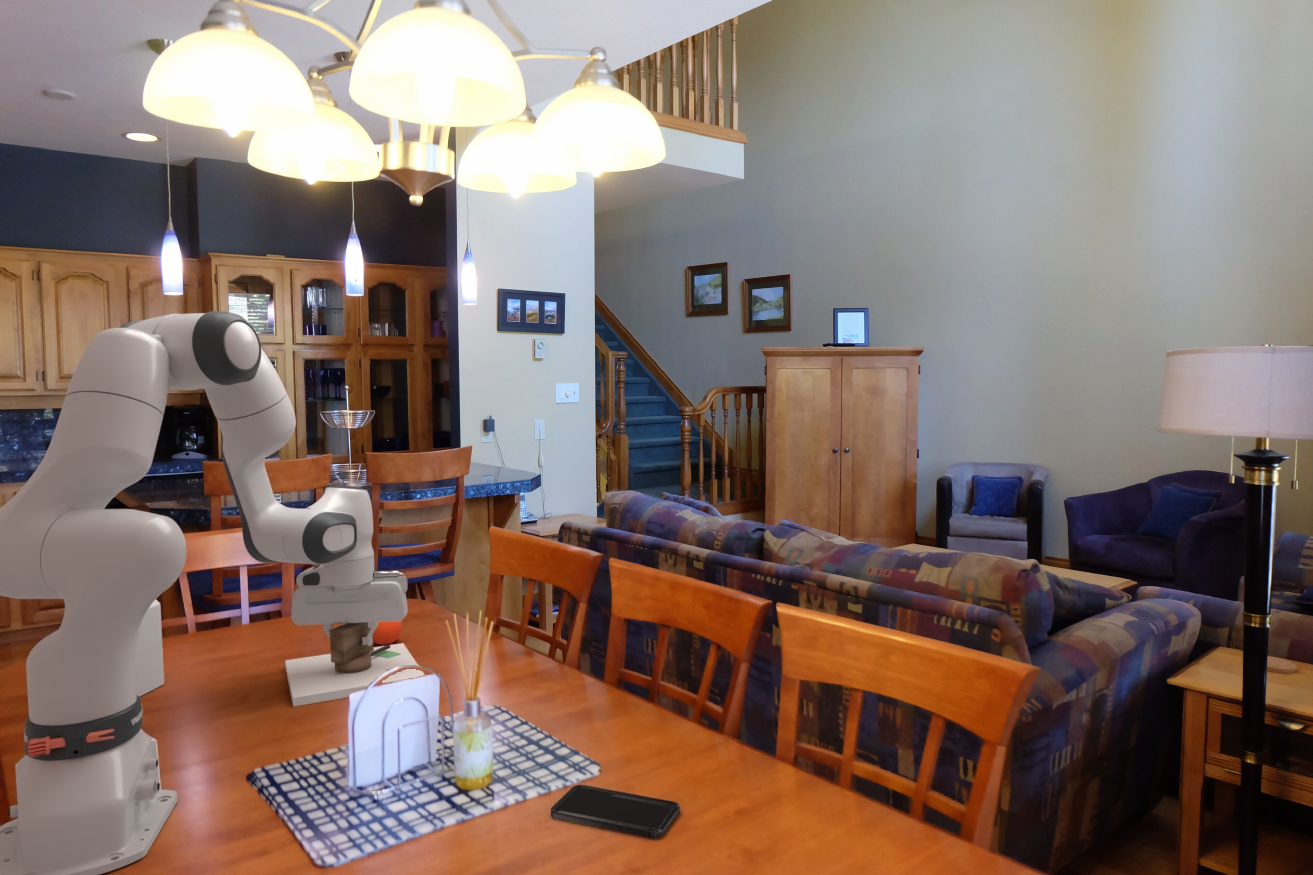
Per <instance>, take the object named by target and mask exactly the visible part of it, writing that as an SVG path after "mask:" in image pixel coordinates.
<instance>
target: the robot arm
mask: <svg viewBox="0 0 1313 875" xmlns="http://www.w3.org/2000/svg"><path fill="white" fill-rule="evenodd" d="M261 344H262V343H261V341H260V338H259V335H258V333H257V331H256V329H255V328H254V327H253V326H252V325H251V323H250V322H248V321H247V319H245V318H244V317H243V316H241V315H240V314H238V313H234V312H230V311H222V310H221V311H219V310H212V311H211V310H210V311H208V312H205V313H204V312H201V313H200V312H197V313H195V312H194V313H193V312H192V313H171V314H166V315H165V314H164V315H159V316H155V317H151V318H148V319H137V320H133V321H129V322H127V323H125V324H123V325H121V326H118V327H112V328H107V329H104V330H102V331H99V332H98V333H97V334H96V335H95V336H93V338H91V340H90V341H89V343H88V345H87V347H86V348H85V350H84V352H83V353H82V355H81V357H80V359H79V361H78V362H77V365H76V367H75V369H74V372H73V374H72V377H71V379H70V382H69V385H68V388H67V390H66V392H65V393H66V394H65V397H64V400H63V403H62V404H63V405H62V407H61V409H60V412H59V413H60V414H59V416H58V420H57V422H56V426H55V428H54V431H53V433H52V437H51V440H50V443H49V446H48V448H47V451H46V453H45V454H44V457H43V458H42V459H41V462H40V463H39V465H38V467H37V468H36V469H35V471H34V472H33V473H32V475H31V476H30V478H28V480H27V481H26V482H25V483H24V485H23V486H22V487H21V488H20V490H18V491H17V492H16V494H15V495H13V497H12V498H11V499H9V500H8V501H7V502H6V503H5V504H4V505H2V506H1V507H0V597H6V598H11V599H17V600H63V602H64V613H63V618H62V621H61V624H60V626H59V627H58V629H57V630H55V631H54V632H51V633H50V634H49V635H47V636H44V638H42V639H41V640H40V641H39V642H37V643H36V644H35V646H34V647H32V649H31V651H30V652H29V653H28V656H27V659H26V663H25V669H26V686H27V687H26V688H27V701H28V704H27V705H28V715H27V717H26V719H25V722H24V723H25V724H24V725H25V727H24V730H23V740H24V754H25V755H24V756H23V757H22V758H20V759H19V761H18V762H17V763H15V765H14V766H15V769H14V770H15V779H16V780H15V782H16V783H15V784H16V796H17V797H16V798H17V799H16V800H17V804H14V805H11V806H9V809H8V810H7V812H8V813H7V814H8V817H9V818H10V819H12V820H10V821H8V822H6V823H4V824H2V825H0V875H102V874H105V873H109V872H112V871H114V870H117V869H120V868H122V867H125V866H128V865H130V864H132V863H135V862H136V861H139V860H140V859H142V858H144V857H145V856H146V855H147V854H148V852H149V850H150V849H151V847H152V846H153V843H154V842H155V841H156V839H157V836H158V835H159V833H160V832H161V830H162V828H163V826H164V824H165V823H166V821H167V819H168V818H169V816H170V815H171V813H172V811H173V810H174V808H175V807H176V806H175V805H176V804H177V803H178V800H179V799H178V794H177V793H178V792H177V791H176V790H171V789H162V783H161V774H160V772H161V771H160V760H159V748H158V741H157V739H156V738H154V737H152V736H151V735H149V734H148V733H146V732H145V731H144V730H143V729H142V727H143V722H144V721H143V714H144V710H143V709H144V708H143V705H142V701H141V700H142V699H141V696H140V697H139V696H137V691H136V644H137V637H138V633H139V629H140V626H141V623H142V621H143V618H144V616H145V614H146V612H147V610H148V609H149V607H150V606H151V604H152V603H153V602H154V601H155V599H156V600H157V598H158V597H159V596H161V595H162V593H164V592H166V591H167V590H168V589H169V588H171V587H172V586H173V585H174V583H175V582H176V581H177V579H178V578H179V577H180V575H181V574H182V572H183V570H184V567H185V565H186V561H187V557H188V556H187V555H188V548H187V540H186V537H185V535H184V532H183V531H182V529H181V527H180V525H178V523H177V522H176V521H175V520H174V519H173V518H171V517H169V516H167V515H162V514H157V513H152V512H148V511H143V510H138V509H130V508H106V507H107V505H109V503H110V502H111V501H112V500H113V499H114V497H116V496H117V495H118V494H119V493H121V492H122V491H123V490H124V489H126V488H128V487H130V486H132V485H133V484H136V483H137V482H140V480H142V479H143V478H144V477H145V476H146V474H148V472H149V471H150V469H151V466H152V463H153V460H154V457H155V452H156V448H157V443H158V440H159V437H160V436H159V435H160V431H161V429H162V428H161V427H162V423H163V419H164V415H165V411H166V410H165V409H166V405H167V401H168V400H167V399H168V392H169V391H197V390H204V391H205V394H206V396H207V399H208V402H209V405H210V406H211V410H212V412H213V414H214V416H215V418H216V421H217V423H218V425H219V428H220V431H221V435H222V436H221V437H222V440H221V443H220V455H221V461H222V463H223V467H224V471H225V474H226V476H227V480H228V483H229V486H230V489H231V492H232V495H233V498H234V500H235V504H236V506H237V510H238V512H239V517H240V520H241V531H242V538H243V539H242V540H243V544H244V548H245V549H246V551H247V553H248V554H249V555H250V557H251V558H253V559H254V560H256V561H258V562H260V563H265V564H270V563H271V564H272V563H273V564H274V563H276V564H277V563H278V564H280V563H288V564H298V565H314V566H312V567H310V568H309V567H308V568H306V569H305V570H304V571H301V572H300V573H299V574H298V575H297V576H296V578H295V580H296V585H297V586H298V588H296V589H295V590H294V591H293V595H292V599H291V600H292V601H291V609H290V610H291V614H290V616H291V621H292V622H293V623H294V625H296V626H311V625H312V626H314V625H315V626H316V625H322V626H323V627H322V628H323V631H324V633H325V635H326V636H327V638H328V639H329V640H330V630H331V629H333V628H335V625H337V624H341V625H342V624H346V623H366V622H368V628H371V630H370V632H369V634H366V635H364V636H363V637H362V641H363V643H362V645H363V646H371V645H372V635H373V633H374V631H375V630H376V628H377V626H378V622H390V621H401V622H402V621H403V619H404V618H405V617H406V616H407V614H408V613H409V612H408V600H407V594H406V593H407V591H408V578H407V576H406V574H404V573H402V572H400V571H399V570H390V571H386V570H375V551H374V549H373V545H372V539H373V535H374V516H373V515H374V514H373V507H372V506H373V505H372V500H371V498H370V494H369V492H368V490H366V489H365V488H364V487H363V488H362V487H359V486H352V485H351V486H349V485H330V486H327V487H325V489H324V493H323V495H322V496H321V497H320V498H319V499H318V500H317V501H316V502H314V503H313V504H312V505H309V506H307V507H306V508H298V507H297V508H296V507H287V506H286V505H284V504H281V503H280V502H279V501H278V500H277V499H276V497H275V495H274V492H273V488H272V485H271V482H270V479H269V475H268V472H267V468H266V466H265V461H266V459H267V458H268V457H270V456H272V455H273V454H274V453H276V452H278V451H279V450H281V449H282V448H283V447H285V445H287V443H288V442H289V441H290V439H291V438H292V436H293V435H294V432H295V430H296V426H297V421H296V420H297V419H296V414H295V411H294V410H295V409H294V406H293V404H292V402H291V399H290V397H289V395H288V393H287V391H286V388H285V386H284V384H283V381H282V380H281V378H280V375H279V374H278V372H277V370H276V369H275V367H274V365H273V364H272V362H271V360H270V358H269V356H267V354H266V352H265V351H264V350H263V348H262V345H261ZM14 818H16V819H14Z"/></svg>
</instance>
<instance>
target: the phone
mask: <svg viewBox="0 0 1313 875" xmlns="http://www.w3.org/2000/svg"><path fill="white" fill-rule="evenodd" d="M680 806H681V805H680V804H679V803H678V802H676V801H673V800H666V799H660V798H656V797H650V796H644V795H640V794H635V793H629V792H624V791H619V790H613V789H607V788H603V787H602V788H601V787H597V786H591V785H587V784H576V785H573V786H572V787H571V788H569V790H568V791H567V792H566V793H564V795H562V797H561V798H559V799H558V800H557V801H556V802H555V803H554V804H553V806H551V808H550V816H551V817H552V818H553V819H555V820H559V821H565V822H568V823H574V824H578V825H584V826H588V827H593V828H596V829H597V828H598V829H603V830H607V831H612V832H616V833H621V834H622V833H623V834H626V835H631V836H637V837H641V838H647V839H650V840H656V839H661V838H662V837H663V836H664V835H665V834H666V832H667V831H668V829H669V828H671V826H672V824H673V823H674V821H675V820H676V818H678V816H679V814H680V812H681V811H680V810H681V807H680Z"/></svg>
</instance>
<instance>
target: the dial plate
mask: <svg viewBox="0 0 1313 875" xmlns="http://www.w3.org/2000/svg"><path fill="white" fill-rule="evenodd" d="M389 645H390V648H389V649H387V650H385V651H382V652H380V653H378V654H376V655H374V656H372V657H371V667H369V668H368V669H365V670H362V671H358V672H352V673H341V672H337V671H336V670H335V663H333V662H331V653H327V654H320V655H311V656H307V657H300V658H299V657H297V658H293V659H285V660H284V661H285V662H284V663H285V665H284V666H285V673H286V672H287V673H286V677H287V681H288V682H287V683H288V687H289V692H290V697H291V701H292V707H299V706H305V705H309V704H310V705H311V704H316V703H323V702H327V701H328V702H329V701H334V700H340V699H346V698H349V697H348V695H349V694H350V693H353V692H356V691H361V690H364V689H365V688H367V687H368V686H369V684H370V683H371V682H373V681H374V680H375V679H376V678H377V677H379V676H380V675H382V674H383V673H384V672H386V671H388V670H390V669H392V668H395V667H398V666H403V665H417V666H419V664H418V663H417V661H416V660H415V658H414V657H413V655H412V654H411V653H410V651H409V649H408V648H407V647H406V645H405V643H403V642H402V643H396V644H389ZM384 646H385V645H381V646H375V647H374V651H375V650H377V649H379V648H381V647H384ZM372 652H373V651H372ZM423 675H425V676H426V674H425V673H424V672H423V670H422V671H420V670H416V669H406V670H402V671H400V672H397V673H396V674H394V675H391V676H389V677H388V678H387V679H385V680H383V681H382V683H390V682H395V681H401V680H405V679H409V678H416V677H419V676H423Z"/></svg>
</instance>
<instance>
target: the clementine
mask: <svg viewBox="0 0 1313 875" xmlns="http://www.w3.org/2000/svg"><path fill="white" fill-rule="evenodd" d="M402 631H403V623H402V620H401V621H390V622H378V626H377V628H376V630H375V631H374V633H373V643H375V644H377V645H381V646H386V644H388V645H392V644H393V643H394V642H395V641H397V640H398V639H399V638H400V636H401V634H402Z"/></svg>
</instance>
